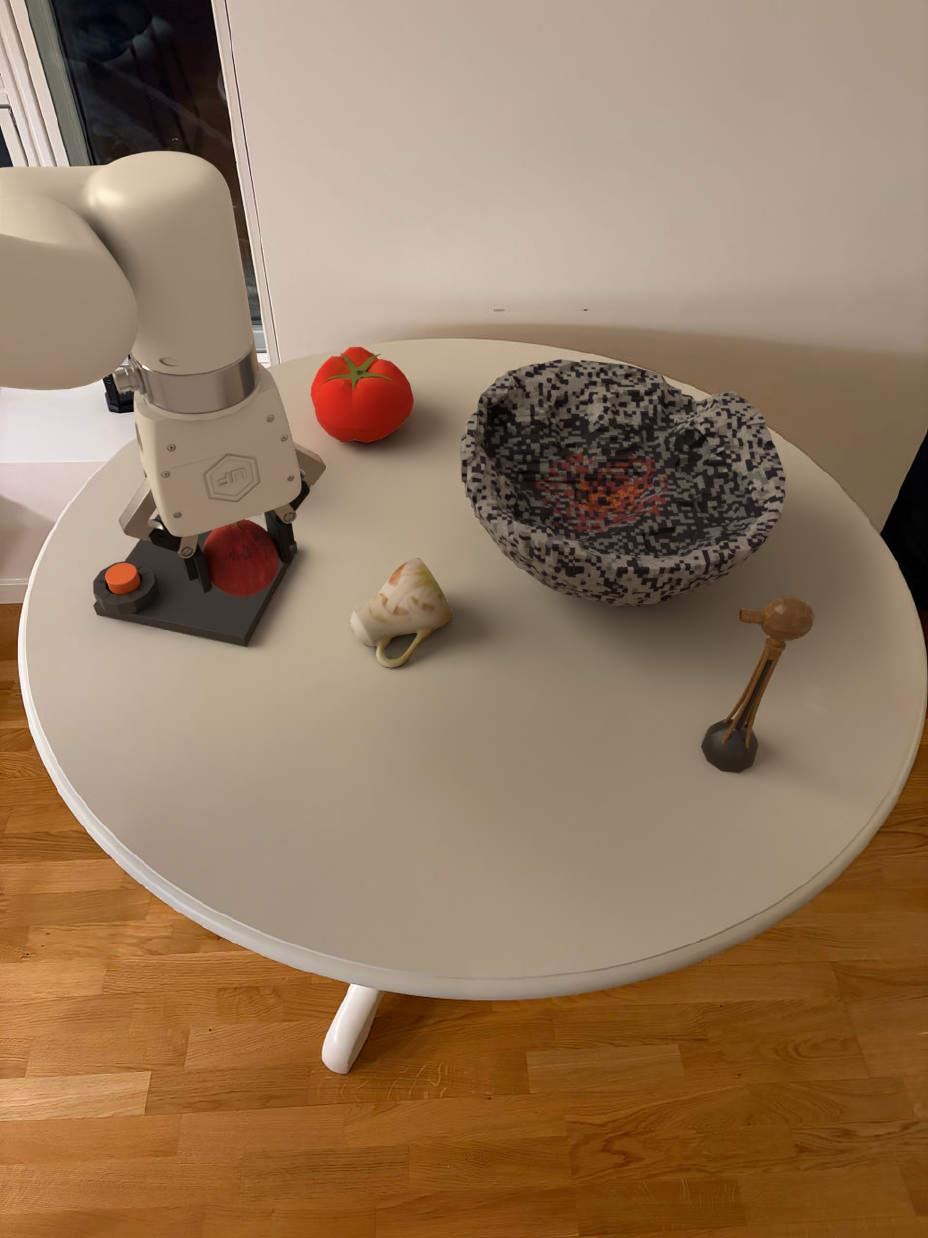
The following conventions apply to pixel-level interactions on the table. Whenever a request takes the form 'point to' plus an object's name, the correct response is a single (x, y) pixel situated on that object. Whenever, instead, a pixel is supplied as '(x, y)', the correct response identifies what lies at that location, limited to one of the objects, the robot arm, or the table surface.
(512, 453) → the bowl
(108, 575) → the button
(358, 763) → the table surface
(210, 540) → the onion
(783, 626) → the wooden tabletop sculpture
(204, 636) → the scale
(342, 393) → the tomato
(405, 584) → the mug
